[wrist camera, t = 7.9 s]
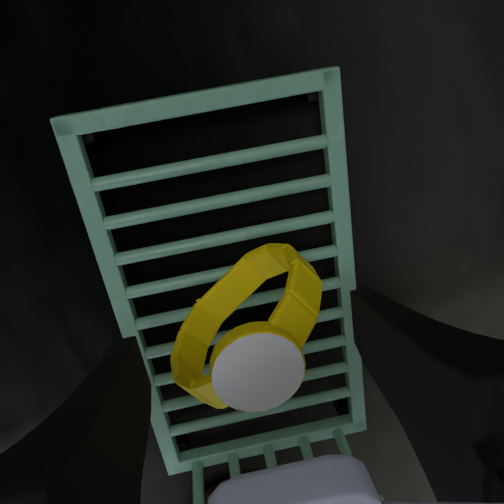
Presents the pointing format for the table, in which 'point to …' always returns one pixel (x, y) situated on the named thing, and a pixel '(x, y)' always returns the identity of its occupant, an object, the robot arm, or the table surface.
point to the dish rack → (120, 294)
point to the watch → (250, 335)
